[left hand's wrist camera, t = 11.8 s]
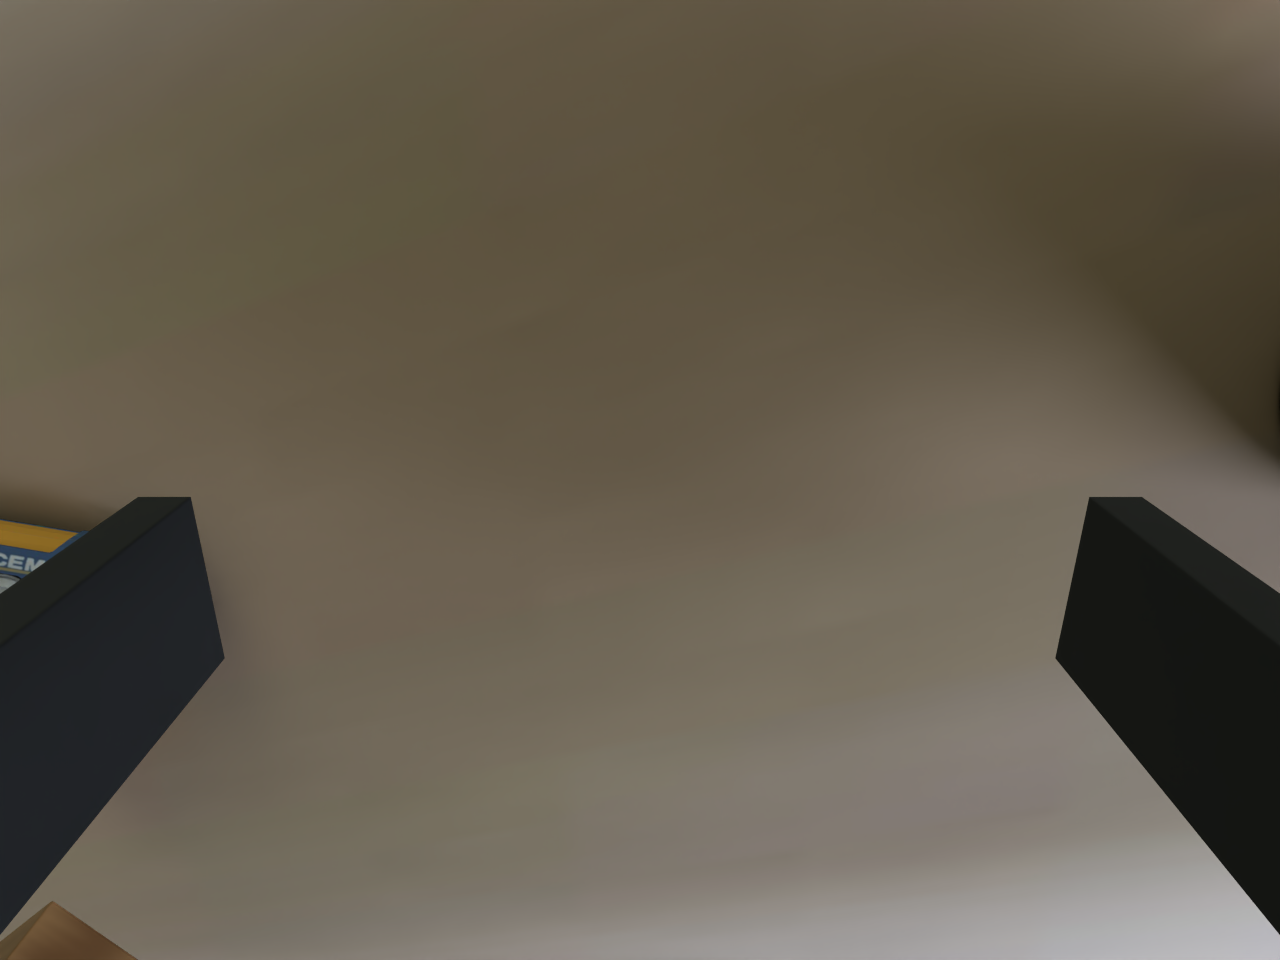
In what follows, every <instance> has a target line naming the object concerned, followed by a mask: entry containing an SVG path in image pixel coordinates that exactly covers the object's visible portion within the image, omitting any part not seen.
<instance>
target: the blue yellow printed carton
mask: <svg viewBox="0 0 1280 960" xmlns="http://www.w3.org/2000/svg"><path fill="white" fill-rule="evenodd" d="M88 532H89V531H81V532H75V531H69V530H63V529H57V528H51V527H45V526H39V525H33V524H27V523H21V522H15V521H9V520H3V519H0V593H2V592H3V591H5V590H6V589H7V588H9V587H10V586H12V585H13V584H15V583H16V582H17V581H19V580H20V579H22V578H23V577H25V576H26V575H27V574H29V573H30V572H32V571H33V570H35V569H36V568H38V567H39V566H40V565H42V564H43V563H45V562H46V561H48V560H49V559H50V558H52V557H53V556H55V555H56V554H58V553H59V552H60V551H62V550H63V549H65V548H66V547H68V546H69V545H70V544H72V543H73V542H75V541H76V540H78V539H79V538H80V537H82V536H83V535H85V534H86V533H88Z"/></svg>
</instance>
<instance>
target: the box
mask: <svg viewBox="0 0 1280 960" xmlns="http://www.w3.org/2000/svg"><path fill="white" fill-rule="evenodd" d="M0 960H137V959H136V958H134V957H133V956H132V955H130V954H129V953H127V952H126V951H124V950H123V949H121V948H120V947H119V946H117V945H116V944H114V943H113V942H111V941H110V940H108V939H107V938H106V937H104V936H103V935H101V934H100V933H98V932H97V931H95V930H94V929H92V928H91V927H90V926H88V925H87V924H85V923H84V922H82V921H81V920H79V919H78V918H77V917H75V916H74V915H72V914H71V913H69V912H68V911H66V910H65V909H64V908H62V907H61V906H59V905H58V904H56V903H55V902H53V901H52V902H50V903H49V904H48V905H46V906H45V907H44V908H42V909H41V910H40V911H39V912H37V913H36V914H35V915H34V916H32V917H31V918H30V919H29V920H27V921H26V922H25V923H23V924H22V925H21V926H20V927H18V928H17V929H16V930H15V931H13V932H12V933H11V934H9V935H8V936H7V937H6V938H4V939H3V940H2V941H1V942H0Z"/></svg>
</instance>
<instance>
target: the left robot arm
mask: <svg viewBox="0 0 1280 960" xmlns="http://www.w3.org/2000/svg"><path fill="white" fill-rule="evenodd" d="M223 659H224V653H223V649H222V644H221V639H220V634H219V630H218V625H217V620H216V615H215V611H214V606H213V601H212V596H211V592H210V587H209V582H208V577H207V573H206V568H205V563H204V558H203V554H202V549H201V544H200V539H199V535H198V530H197V525H196V520H195V516H194V511H193V506H192V501H191V497H138V498H136V499H135V500H133V501H132V502H130V503H129V504H128V505H126V506H125V507H123V508H122V509H120V510H119V511H118V512H116V513H115V514H113V515H112V516H110V517H109V518H108V519H106V520H105V521H103V522H102V523H100V524H99V525H98V526H96V527H95V528H93V529H92V530H90V531H89V532H88V533H86V534H85V535H83V536H82V537H80V538H79V539H78V540H76V541H75V542H73V543H72V544H70V545H69V546H68V547H66V548H65V549H63V550H62V551H60V552H59V553H58V554H56V555H55V556H53V557H52V558H50V559H49V560H48V561H46V562H45V563H43V564H42V565H40V566H39V567H38V568H36V569H35V570H33V571H32V572H30V573H29V574H27V575H26V576H25V577H23V578H22V579H20V580H19V581H17V582H16V583H15V584H13V585H12V586H10V587H9V588H7V589H6V590H5V591H3V592H2V593H0V934H1V933H2V932H3V931H4V929H5V928H6V927H7V926H8V924H9V923H10V922H11V921H12V920H13V918H14V917H15V916H16V915H17V913H18V912H19V911H20V910H21V908H22V907H23V906H24V905H25V904H26V902H27V901H28V900H29V899H30V897H31V896H32V895H33V894H34V892H35V891H36V890H37V889H38V888H39V886H40V885H41V884H42V883H43V881H44V880H45V879H46V878H47V876H48V875H49V874H50V873H51V871H52V870H53V869H54V868H55V867H56V865H57V864H58V863H59V862H60V860H61V859H62V858H63V857H64V855H65V854H66V853H67V852H68V851H69V849H70V848H71V847H72V846H73V844H74V843H75V842H76V841H77V839H78V838H79V837H80V836H81V835H82V833H83V832H84V831H85V830H86V828H87V827H88V826H89V825H90V823H91V822H92V821H93V820H94V818H95V817H96V816H97V815H98V814H99V812H100V811H101V810H102V809H103V807H104V806H105V805H106V804H107V802H108V801H109V800H110V799H111V798H112V796H113V795H114V794H115V793H116V791H117V790H118V789H119V788H120V786H121V785H122V784H123V783H124V782H125V780H126V779H127V778H128V777H129V775H130V774H131V773H132V772H133V770H134V769H135V768H136V767H137V765H138V764H139V763H140V762H141V761H142V759H143V758H144V757H145V756H146V754H147V753H148V752H149V751H150V749H151V748H152V747H153V746H154V745H155V743H156V742H157V741H158V740H159V738H160V737H161V736H162V735H163V733H164V732H165V731H166V730H167V729H168V727H169V726H170V725H171V724H172V722H173V721H174V720H175V719H176V717H177V716H178V715H179V714H180V712H181V711H182V710H183V709H184V708H185V706H186V705H187V704H188V703H189V701H190V700H191V699H192V698H193V696H194V695H195V694H196V693H197V692H198V690H199V689H200V688H201V687H202V685H203V684H204V683H205V682H206V680H207V679H208V678H209V677H210V676H211V674H212V673H213V672H214V671H215V669H216V668H217V667H218V666H219V664H220V663H221V662H222V661H223ZM1056 659H1057V661H1058V662H1059V663H1060V664H1061V666H1062V667H1063V668H1064V669H1065V671H1066V672H1067V673H1068V674H1069V676H1070V677H1071V678H1072V679H1073V680H1074V682H1075V683H1076V684H1077V685H1078V687H1079V688H1080V689H1081V690H1082V692H1083V693H1084V694H1085V695H1086V696H1087V698H1088V699H1089V700H1090V701H1091V703H1092V704H1093V705H1094V706H1095V708H1096V709H1097V710H1098V711H1099V712H1100V714H1101V715H1102V716H1103V717H1104V719H1105V720H1106V721H1107V722H1108V724H1109V725H1110V726H1111V727H1112V729H1113V730H1114V731H1115V732H1116V733H1117V735H1118V736H1119V737H1120V738H1121V740H1122V741H1123V742H1124V743H1125V745H1126V746H1127V747H1128V748H1129V749H1130V751H1131V752H1132V753H1133V754H1134V756H1135V757H1136V758H1137V759H1138V761H1139V762H1140V763H1141V764H1142V765H1143V767H1144V768H1145V769H1146V770H1147V772H1148V773H1149V774H1150V775H1151V777H1152V778H1153V779H1154V780H1155V782H1156V783H1157V784H1158V785H1159V786H1160V788H1161V789H1162V790H1163V791H1164V793H1165V794H1166V795H1167V796H1168V798H1169V799H1170V800H1171V801H1172V802H1173V804H1174V805H1175V806H1176V807H1177V809H1178V810H1179V811H1180V812H1181V814H1182V815H1183V816H1184V817H1185V818H1186V820H1187V821H1188V822H1189V823H1190V825H1191V826H1192V827H1193V828H1194V830H1195V831H1196V832H1197V833H1198V835H1199V836H1200V837H1201V838H1202V839H1203V841H1204V842H1205V843H1206V844H1207V846H1208V847H1209V848H1210V849H1211V851H1212V852H1213V853H1214V854H1215V855H1216V857H1217V858H1218V859H1219V860H1220V862H1221V863H1222V864H1223V865H1224V867H1225V868H1226V869H1227V870H1228V871H1229V873H1230V874H1231V875H1232V876H1233V878H1234V879H1235V880H1236V881H1237V883H1238V884H1239V885H1240V886H1241V888H1242V889H1243V890H1244V891H1245V892H1246V894H1247V895H1248V896H1249V897H1250V899H1251V900H1252V901H1253V902H1254V904H1255V905H1256V906H1257V907H1258V908H1259V910H1260V911H1261V912H1262V913H1263V915H1264V916H1265V917H1266V918H1267V920H1268V921H1269V922H1270V923H1271V924H1272V926H1273V927H1274V928H1275V929H1276V931H1277V932H1278V933H1279V934H1280V593H1278V592H1277V591H1275V590H1274V589H1273V588H1271V587H1270V586H1268V585H1267V584H1265V583H1264V582H1263V581H1261V580H1260V579H1258V578H1257V577H1255V576H1254V575H1253V574H1251V573H1250V572H1248V571H1247V570H1245V569H1244V568H1242V567H1241V566H1240V565H1238V564H1237V563H1235V562H1234V561H1232V560H1231V559H1230V558H1228V557H1227V556H1225V555H1224V554H1222V553H1221V552H1220V551H1218V550H1217V549H1215V548H1214V547H1212V546H1211V545H1210V544H1208V543H1207V542H1205V541H1204V540H1202V539H1201V538H1200V537H1198V536H1197V535H1195V534H1194V533H1192V532H1191V531H1190V530H1188V529H1187V528H1185V527H1184V526H1182V525H1181V524H1180V523H1178V522H1177V521H1175V520H1174V519H1172V518H1171V517H1170V516H1168V515H1167V514H1165V513H1164V512H1162V511H1161V510H1160V509H1158V508H1157V507H1155V506H1154V505H1152V504H1151V503H1150V502H1148V501H1147V500H1145V499H1144V498H1142V497H1089V501H1088V506H1087V511H1086V516H1085V520H1084V525H1083V530H1082V535H1081V539H1080V544H1079V549H1078V554H1077V558H1076V563H1075V568H1074V573H1073V577H1072V582H1071V587H1070V592H1069V596H1068V601H1067V606H1066V611H1065V615H1064V620H1063V625H1062V630H1061V634H1060V639H1059V644H1058V649H1057V653H1056Z"/></svg>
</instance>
